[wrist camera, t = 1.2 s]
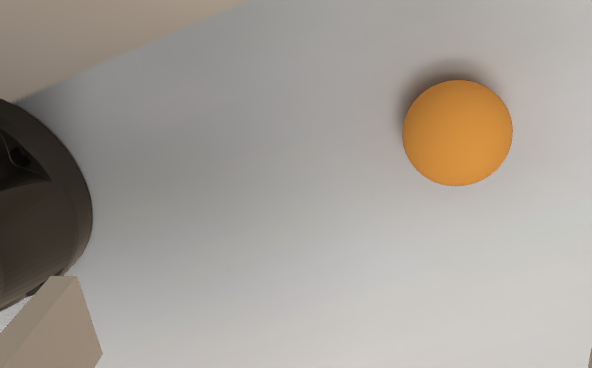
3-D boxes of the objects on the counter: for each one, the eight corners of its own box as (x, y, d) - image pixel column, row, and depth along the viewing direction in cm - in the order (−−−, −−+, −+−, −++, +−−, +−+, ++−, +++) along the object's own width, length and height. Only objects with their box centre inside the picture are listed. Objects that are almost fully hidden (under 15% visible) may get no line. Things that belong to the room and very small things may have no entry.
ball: (394, 153, 32) (394, 196, 28) (411, 62, 30) (414, 91, 25) (488, 166, 32) (505, 212, 27) (514, 74, 29) (537, 107, 25)
